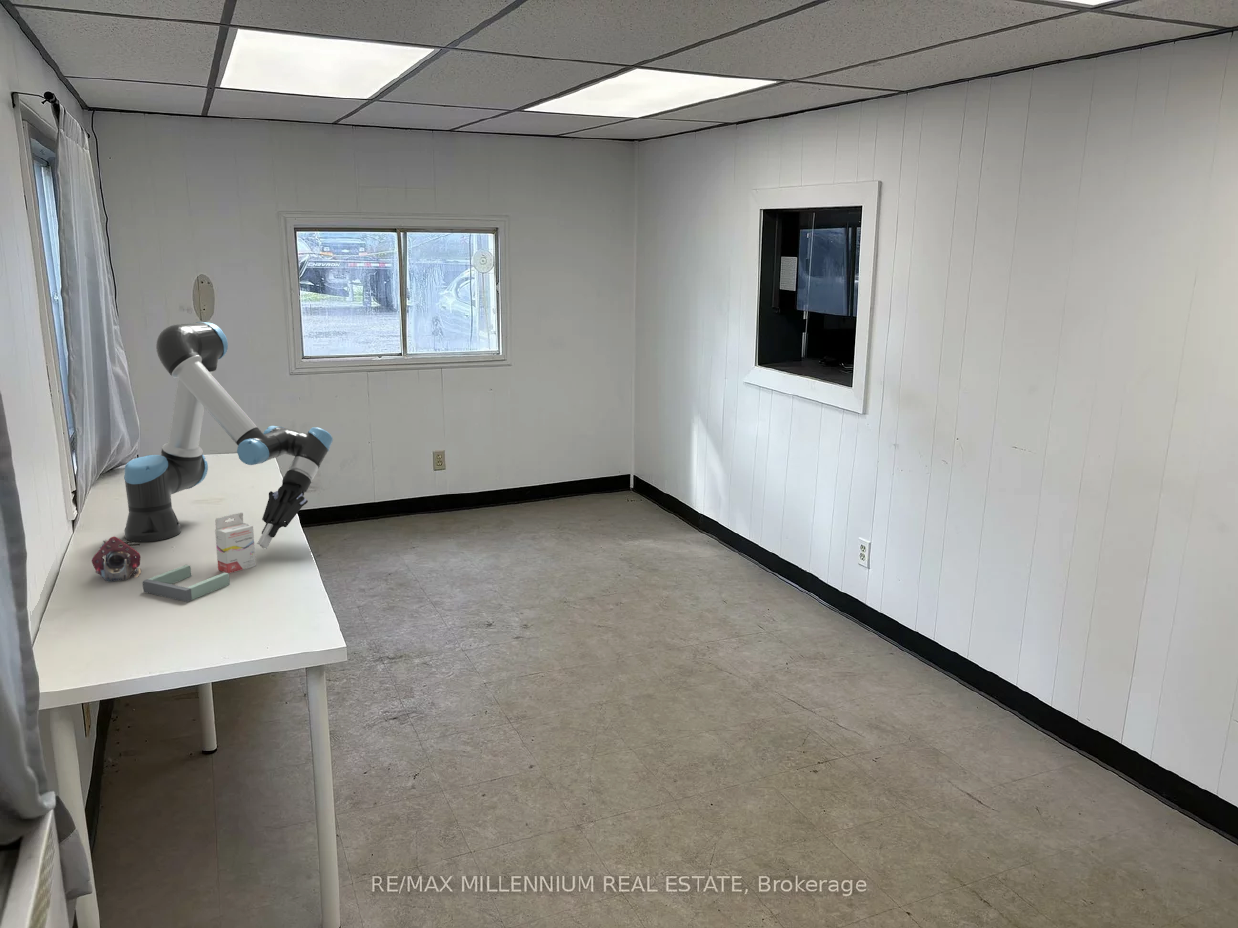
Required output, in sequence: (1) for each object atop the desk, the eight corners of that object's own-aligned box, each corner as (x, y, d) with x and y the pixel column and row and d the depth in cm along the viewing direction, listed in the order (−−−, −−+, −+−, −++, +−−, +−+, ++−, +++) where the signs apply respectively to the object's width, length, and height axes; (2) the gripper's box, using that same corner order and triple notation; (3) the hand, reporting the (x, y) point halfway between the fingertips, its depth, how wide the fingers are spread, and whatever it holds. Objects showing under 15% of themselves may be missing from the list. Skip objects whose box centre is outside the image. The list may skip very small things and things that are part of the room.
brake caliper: (89, 578, 231) (88, 535, 235) (96, 591, 240) (95, 549, 244) (139, 573, 236) (138, 530, 240) (144, 586, 245) (142, 544, 249)
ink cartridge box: (228, 574, 243) (223, 521, 239) (217, 570, 245) (213, 518, 242) (256, 565, 249) (252, 514, 246) (246, 562, 252) (242, 511, 249)
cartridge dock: (143, 592, 229) (142, 580, 228) (187, 575, 241) (186, 564, 241) (187, 601, 223) (185, 590, 223) (229, 584, 236) (228, 573, 235)
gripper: (324, 484, 266) (287, 555, 255) (289, 480, 271) (252, 549, 260) (310, 471, 260) (272, 542, 249) (275, 466, 265) (236, 536, 254)
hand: (261, 545), depth 255 cm, fingers closed
